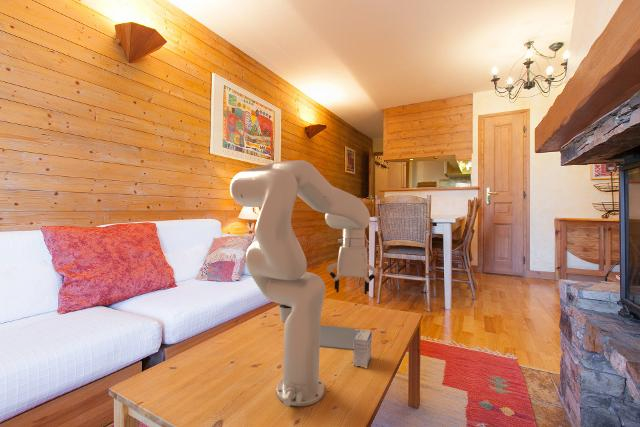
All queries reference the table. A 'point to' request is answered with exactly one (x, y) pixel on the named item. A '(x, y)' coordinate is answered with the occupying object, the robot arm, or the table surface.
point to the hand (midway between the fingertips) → (351, 292)
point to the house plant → (284, 312)
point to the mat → (337, 337)
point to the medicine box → (362, 348)
